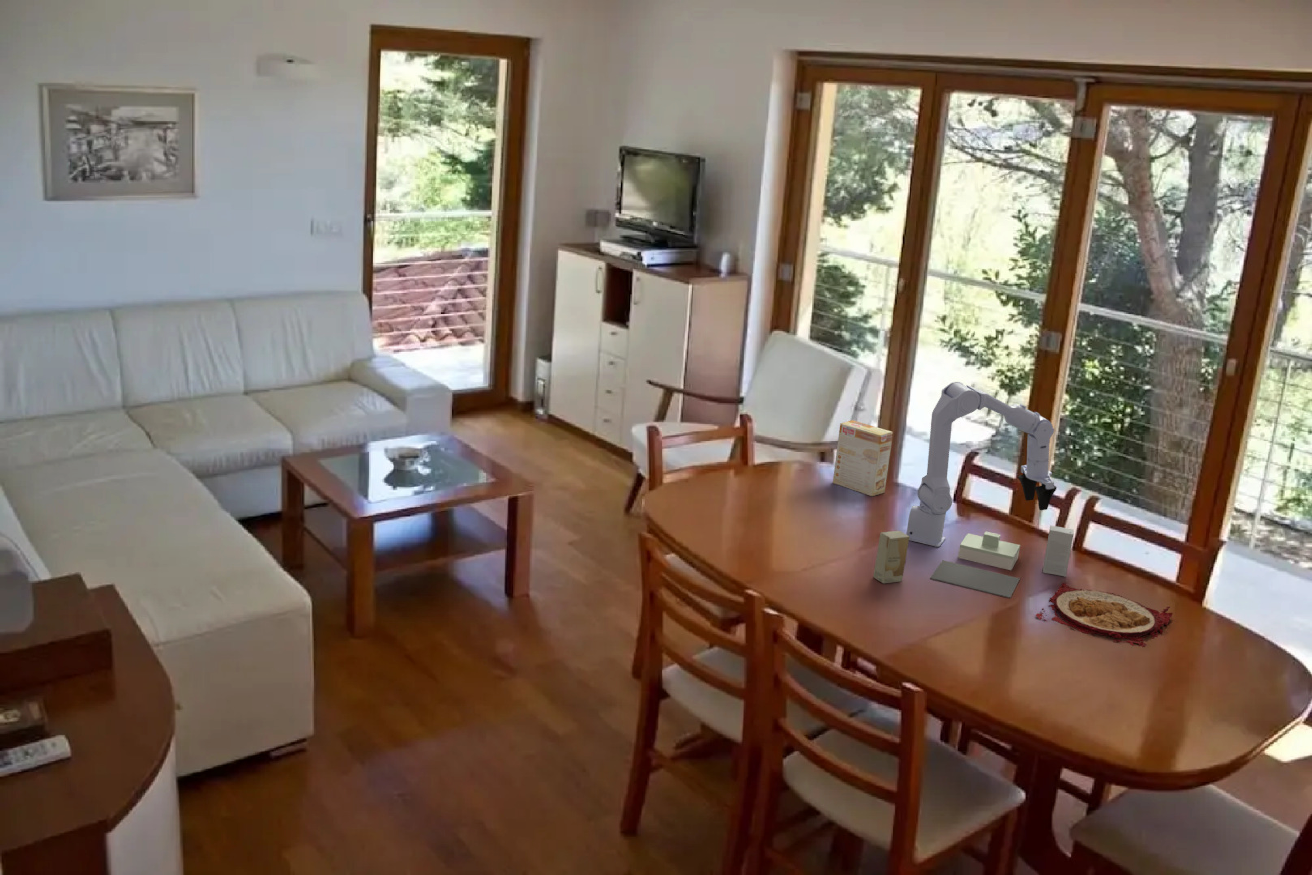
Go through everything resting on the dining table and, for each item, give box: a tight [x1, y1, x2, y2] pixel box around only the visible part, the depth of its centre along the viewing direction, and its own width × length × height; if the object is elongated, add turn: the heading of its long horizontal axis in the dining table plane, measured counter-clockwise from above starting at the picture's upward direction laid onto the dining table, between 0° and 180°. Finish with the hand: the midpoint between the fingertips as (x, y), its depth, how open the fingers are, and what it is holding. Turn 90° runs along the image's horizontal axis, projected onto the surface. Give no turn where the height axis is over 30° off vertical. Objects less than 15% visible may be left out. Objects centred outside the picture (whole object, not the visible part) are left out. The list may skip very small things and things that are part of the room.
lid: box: [959, 531, 1021, 560], centre depth 322 cm, size 14×10×5 cm
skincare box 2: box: [1042, 525, 1075, 577], centre depth 316 cm, size 6×4×12 cm
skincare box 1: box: [872, 530, 910, 584], centre depth 302 cm, size 6×4×12 cm
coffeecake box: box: [832, 419, 894, 497], centre depth 368 cm, size 15×7×20 cm, turn 46°
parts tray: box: [957, 547, 1021, 571], centre depth 323 cm, size 14×10×3 cm
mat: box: [929, 559, 1021, 599], centre depth 308 cm, size 20×14×1 cm
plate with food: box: [1035, 582, 1174, 648], centre depth 291 cm, size 25×26×4 cm
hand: (1036, 504), depth 336 cm, fingers open, 7 cm apart
